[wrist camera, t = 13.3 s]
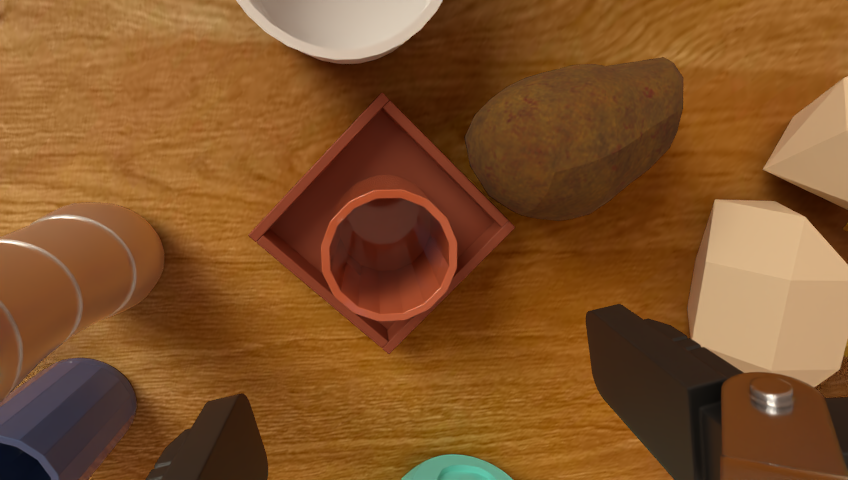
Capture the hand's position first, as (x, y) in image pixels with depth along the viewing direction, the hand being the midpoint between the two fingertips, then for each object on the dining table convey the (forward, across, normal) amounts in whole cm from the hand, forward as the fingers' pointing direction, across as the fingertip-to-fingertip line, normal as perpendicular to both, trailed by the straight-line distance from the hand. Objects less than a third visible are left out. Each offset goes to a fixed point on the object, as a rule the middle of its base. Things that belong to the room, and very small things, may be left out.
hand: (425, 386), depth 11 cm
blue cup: (+20, +22, +7) cm, 31 cm away
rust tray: (+20, 0, 0) cm, 20 cm away
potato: (+20, -11, -3) cm, 23 cm away
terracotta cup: (+20, 0, 0) cm, 20 cm away
